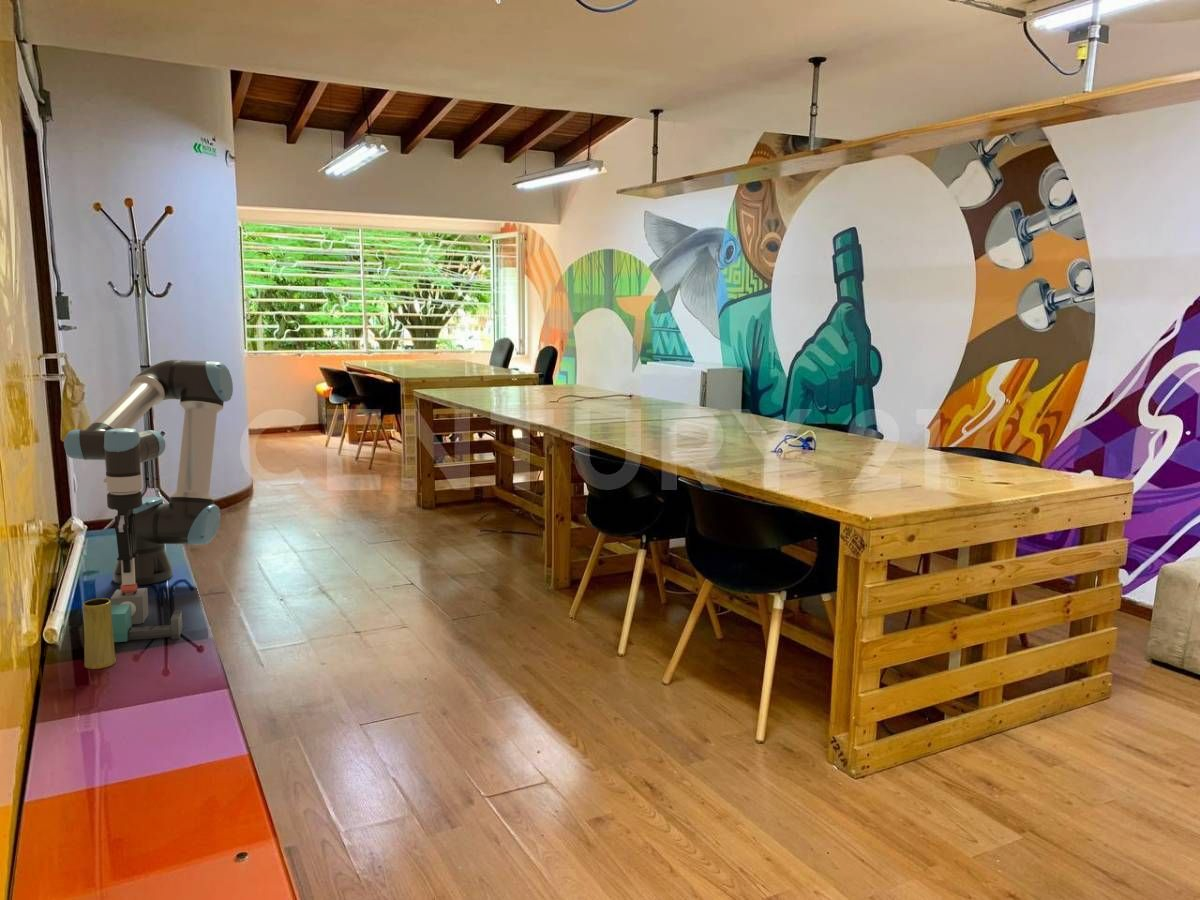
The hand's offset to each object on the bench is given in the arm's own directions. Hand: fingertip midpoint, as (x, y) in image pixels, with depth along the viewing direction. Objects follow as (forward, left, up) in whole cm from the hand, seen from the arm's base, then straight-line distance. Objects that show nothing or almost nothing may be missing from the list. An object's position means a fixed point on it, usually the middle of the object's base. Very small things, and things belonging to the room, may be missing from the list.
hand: (128, 583), depth 212 cm
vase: (+28, -1, -10) cm, 30 cm away
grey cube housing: (0, 0, -9) cm, 9 cm away
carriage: (+13, -1, -9) cm, 16 cm away
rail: (+13, +4, -9) cm, 16 cm away
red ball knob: (0, 0, -5) cm, 5 cm away
